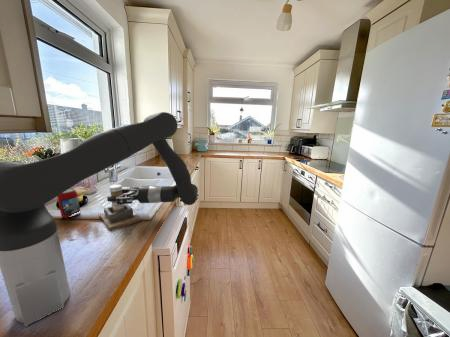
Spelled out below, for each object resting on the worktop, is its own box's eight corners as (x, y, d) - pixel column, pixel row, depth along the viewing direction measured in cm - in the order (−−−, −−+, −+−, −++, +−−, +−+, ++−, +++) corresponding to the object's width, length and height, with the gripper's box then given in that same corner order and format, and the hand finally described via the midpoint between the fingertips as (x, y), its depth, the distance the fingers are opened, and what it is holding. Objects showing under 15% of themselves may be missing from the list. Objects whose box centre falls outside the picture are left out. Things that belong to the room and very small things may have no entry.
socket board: (140, 220, 81) (140, 211, 80) (109, 231, 73) (108, 220, 72) (126, 207, 94) (126, 199, 93) (98, 215, 86) (97, 206, 85)
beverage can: (69, 220, 81) (63, 194, 78) (57, 217, 83) (52, 192, 80) (84, 213, 87) (80, 188, 85) (73, 211, 89) (69, 187, 86)
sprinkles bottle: (117, 218, 80) (112, 188, 77) (111, 215, 83) (107, 186, 79) (127, 213, 84) (123, 185, 81) (121, 211, 86) (117, 183, 83)
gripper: (155, 181, 88) (119, 181, 87) (145, 192, 75) (102, 192, 73) (156, 196, 90) (121, 197, 89) (147, 209, 76) (105, 210, 75)
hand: (113, 195), depth 81 cm, fingers open, 8 cm apart
